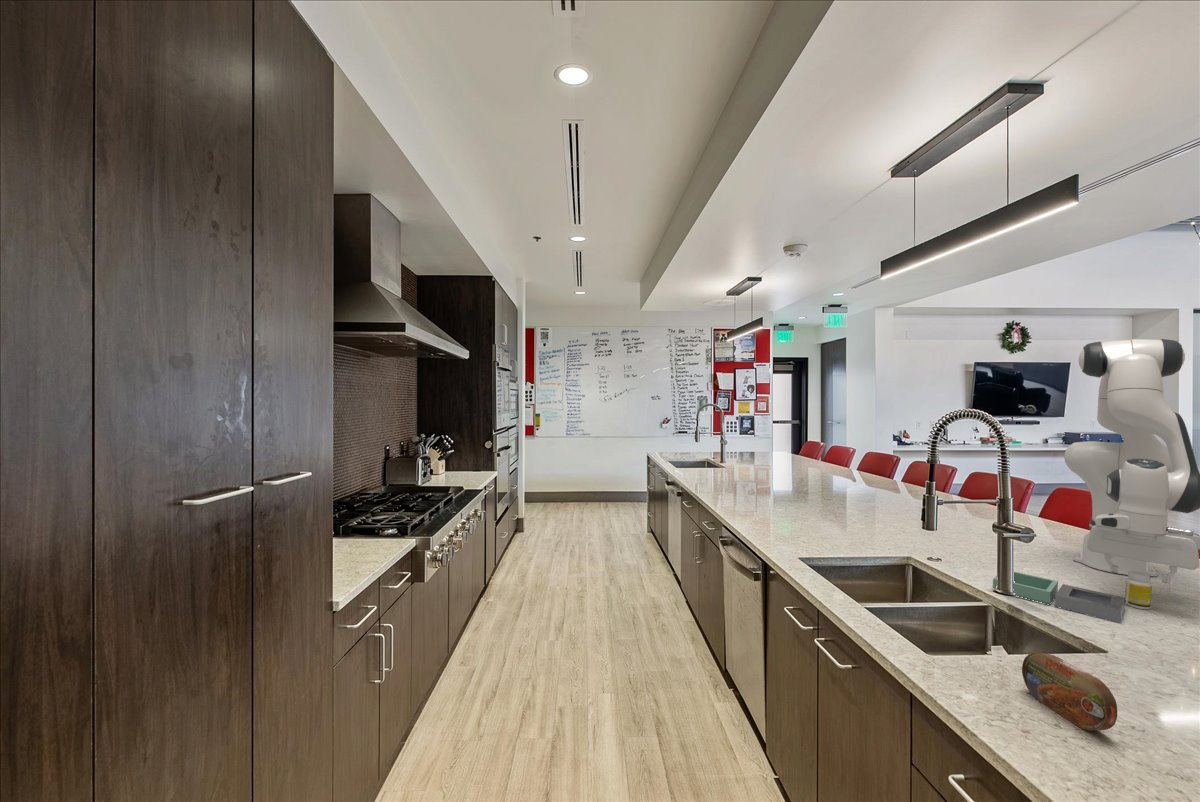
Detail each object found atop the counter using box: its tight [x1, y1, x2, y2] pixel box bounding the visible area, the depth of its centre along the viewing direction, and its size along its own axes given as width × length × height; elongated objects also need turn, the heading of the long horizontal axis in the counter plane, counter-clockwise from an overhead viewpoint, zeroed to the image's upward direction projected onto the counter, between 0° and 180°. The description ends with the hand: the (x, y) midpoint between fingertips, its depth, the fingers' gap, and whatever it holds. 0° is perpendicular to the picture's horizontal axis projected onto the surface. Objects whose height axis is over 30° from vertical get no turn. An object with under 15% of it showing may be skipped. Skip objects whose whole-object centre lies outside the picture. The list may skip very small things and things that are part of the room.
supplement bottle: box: [1124, 571, 1153, 610], centre depth 139 cm, size 5×5×8 cm
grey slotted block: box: [1054, 583, 1126, 624], centre depth 137 cm, size 12×12×3 cm
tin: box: [1021, 652, 1118, 732], centre depth 92 cm, size 15×3×8 cm, turn 5°
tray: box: [992, 571, 1059, 606], centre depth 146 cm, size 12×12×4 cm
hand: (1139, 577), depth 138 cm, fingers open, 8 cm apart
